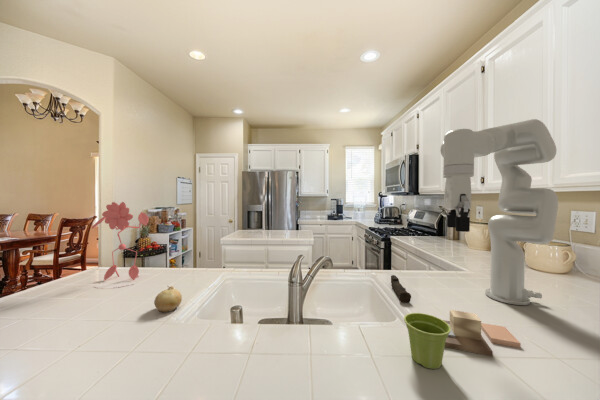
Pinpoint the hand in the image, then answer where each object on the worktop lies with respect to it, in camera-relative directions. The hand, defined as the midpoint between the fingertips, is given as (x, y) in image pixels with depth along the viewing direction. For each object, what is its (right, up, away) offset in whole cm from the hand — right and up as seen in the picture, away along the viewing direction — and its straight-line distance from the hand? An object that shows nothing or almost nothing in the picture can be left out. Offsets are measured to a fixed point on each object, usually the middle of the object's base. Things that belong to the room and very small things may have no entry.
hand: (457, 229), depth 69 cm
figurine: (-127, -27, +31) cm, 134 cm away
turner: (-6, -27, -6) cm, 28 cm away
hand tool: (-9, -29, +23) cm, 37 cm away
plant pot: (-18, -29, -16) cm, 37 cm away
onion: (-91, -28, +8) cm, 95 cm away
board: (-6, -28, -6) cm, 30 cm away
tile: (+8, -28, -2) cm, 29 cm away
